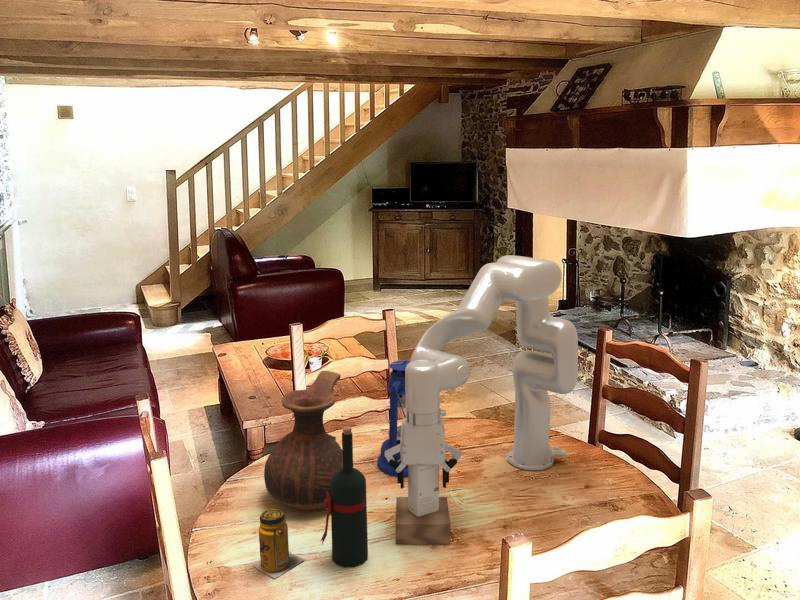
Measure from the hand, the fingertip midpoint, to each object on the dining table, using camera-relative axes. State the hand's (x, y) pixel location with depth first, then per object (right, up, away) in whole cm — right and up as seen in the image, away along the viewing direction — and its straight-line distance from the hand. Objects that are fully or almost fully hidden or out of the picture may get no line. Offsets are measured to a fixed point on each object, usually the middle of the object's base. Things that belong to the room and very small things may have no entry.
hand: (423, 485), depth 163 cm
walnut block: (0, -11, +2) cm, 11 cm away
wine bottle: (-17, -14, -8) cm, 23 cm away
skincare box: (0, -6, +1) cm, 6 cm away
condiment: (-31, -14, -10) cm, 36 cm away
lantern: (-4, -3, +34) cm, 35 cm away
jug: (-28, -8, +17) cm, 34 cm away
